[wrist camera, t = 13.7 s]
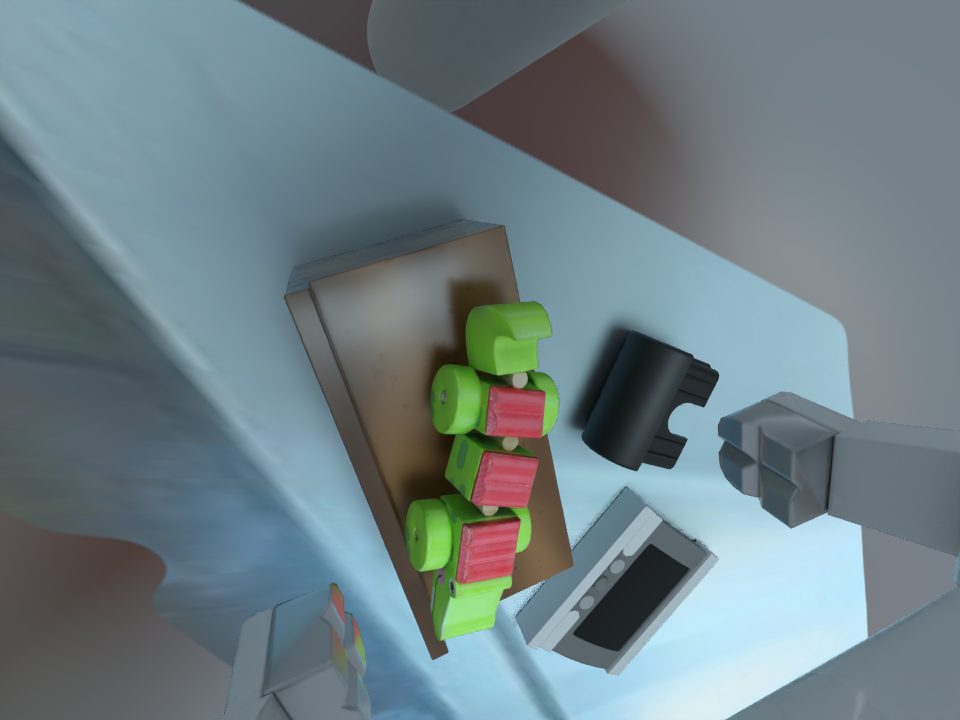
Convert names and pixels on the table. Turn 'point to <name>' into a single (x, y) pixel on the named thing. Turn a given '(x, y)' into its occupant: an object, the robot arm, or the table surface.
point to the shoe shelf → (414, 381)
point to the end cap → (646, 403)
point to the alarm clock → (615, 587)
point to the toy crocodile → (484, 466)
